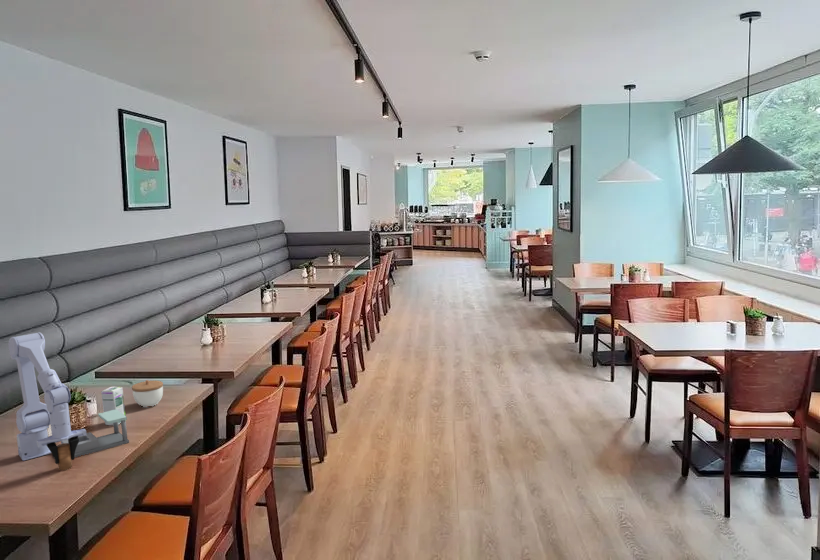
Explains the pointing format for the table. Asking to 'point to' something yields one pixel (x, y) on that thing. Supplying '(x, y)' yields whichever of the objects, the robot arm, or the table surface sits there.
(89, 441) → the socket stand
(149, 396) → the lidded bowl
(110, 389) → the syrup box
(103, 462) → the table surface
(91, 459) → the table surface
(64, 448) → the peg
